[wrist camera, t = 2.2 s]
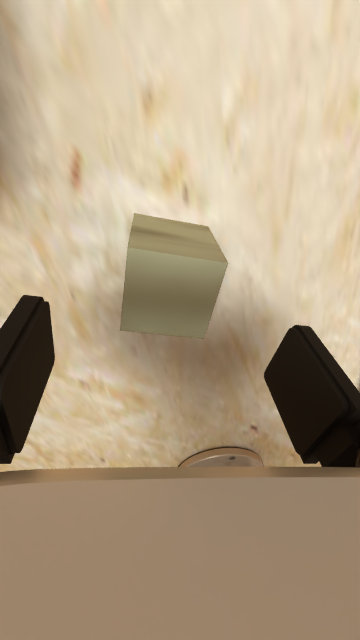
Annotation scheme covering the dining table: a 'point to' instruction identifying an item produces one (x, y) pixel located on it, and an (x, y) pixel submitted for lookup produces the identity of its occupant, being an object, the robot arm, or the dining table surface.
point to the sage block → (171, 277)
